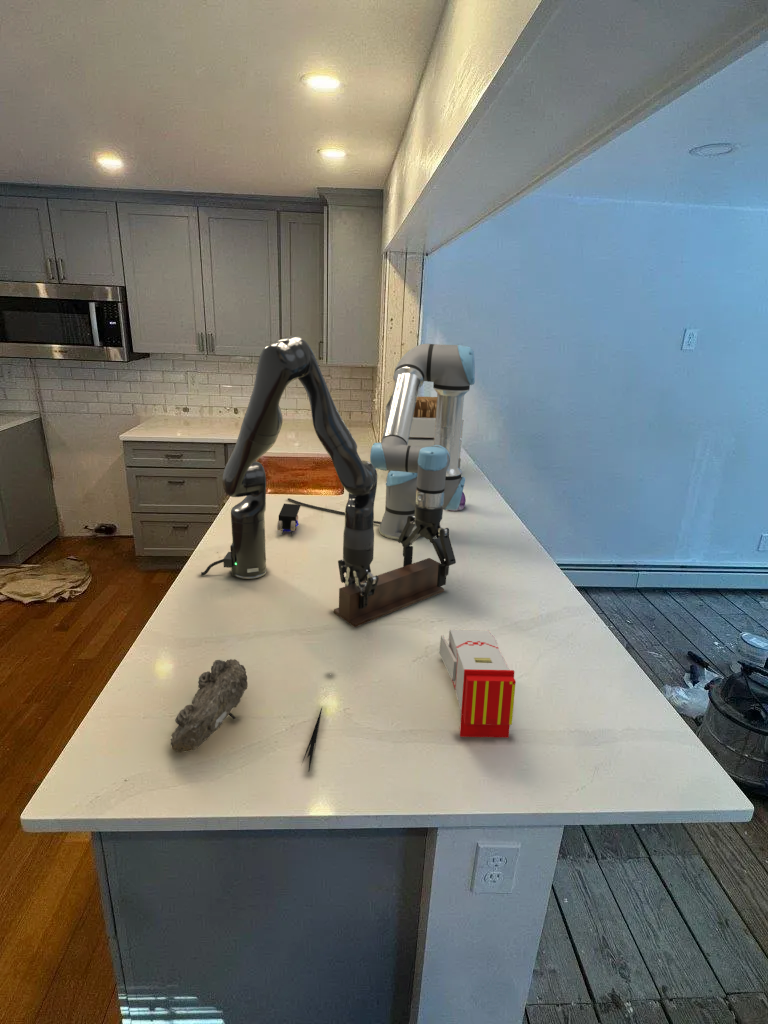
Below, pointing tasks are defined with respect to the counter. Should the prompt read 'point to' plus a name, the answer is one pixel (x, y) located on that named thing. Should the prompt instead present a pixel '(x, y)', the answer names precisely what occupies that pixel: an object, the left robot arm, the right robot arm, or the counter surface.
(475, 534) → the counter surface
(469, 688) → the toy
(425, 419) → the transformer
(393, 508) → the right robot arm
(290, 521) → the figurine character
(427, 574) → the rail
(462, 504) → the figurine
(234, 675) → the fossil
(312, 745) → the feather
